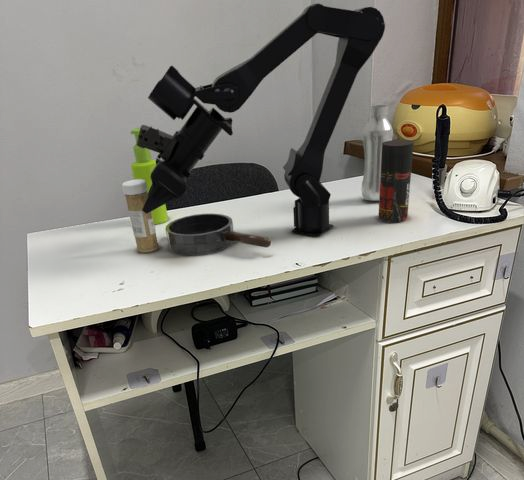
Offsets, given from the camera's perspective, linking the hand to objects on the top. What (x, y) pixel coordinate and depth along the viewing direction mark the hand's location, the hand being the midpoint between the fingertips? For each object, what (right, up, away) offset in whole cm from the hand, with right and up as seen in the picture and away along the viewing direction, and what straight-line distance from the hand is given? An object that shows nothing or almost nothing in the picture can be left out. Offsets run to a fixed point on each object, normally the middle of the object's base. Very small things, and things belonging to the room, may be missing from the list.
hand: (146, 204), depth 94 cm
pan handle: (+19, -8, -2) cm, 21 cm away
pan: (+10, -6, +5) cm, 13 cm away
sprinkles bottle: (-1, -8, +5) cm, 9 cm away
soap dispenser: (-3, +3, +21) cm, 22 cm away
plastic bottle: (+49, +7, +21) cm, 54 cm away
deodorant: (+50, 0, +9) cm, 51 cm away
